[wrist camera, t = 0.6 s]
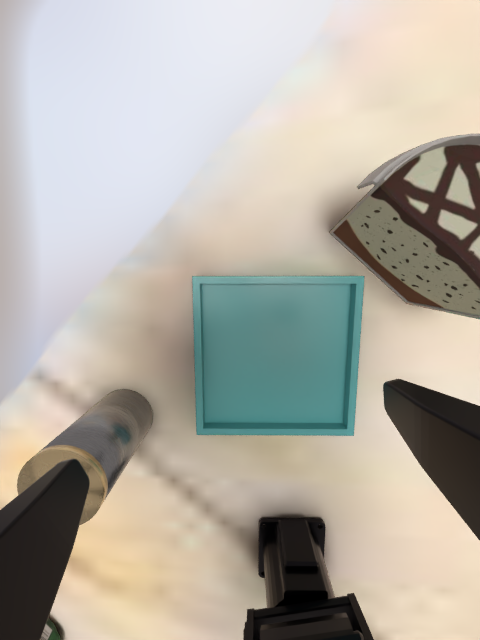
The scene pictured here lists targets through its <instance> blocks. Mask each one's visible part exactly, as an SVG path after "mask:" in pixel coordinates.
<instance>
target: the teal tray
mask: <svg viewBox="0 0 480 640" xmlns="http://www.w3.org/2000/svg"><path fill="white" fill-rule="evenodd" d="M192 282H193V320H194V357H195V394H196V431H197V435H336V436H354V423H355V409H356V394H357V379H358V364H359V349H360V334H361V320H362V305H363V290H364V276H192Z"/></svg>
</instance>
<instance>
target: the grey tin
mask: <svg viewBox="0 0 480 640" xmlns="http://www.w3.org/2000/svg"><path fill="white" fill-rule="evenodd" d="M152 421H153V412H152V409H151V406H150V404H149V403H148V401H147V400H146V399H145V398H144V397H143V396H142V395H140V394H139V393H137V392H135V391H132V390H126V389H122V390H116V391H113V392H111V393H109V394H108V395H107V396H105V397H104V398H103V399H102V400H101V401H99V402H98V403H97V404H96V405H95V406H93V407H92V408H91V409H90V410H89V411H87V412H86V413H85V414H84V415H83V416H81V417H80V418H79V419H78V420H77V421H75V422H74V423H73V424H72V425H71V426H69V427H68V428H67V429H66V430H65V431H63V432H62V433H61V434H60V435H59V436H57V437H56V438H55V439H54V440H53V441H51V442H50V443H49V444H48V445H47V446H46V447H44V448H43V449H42V450H41V451H40V452H38V453H37V454H36V455H35V456H34V457H32V458H31V459H30V460H29V461H28V462H27V463H26V464H25V465H24V466H23V468H22V469H21V471H20V474H19V477H18V483H17V488H18V494H19V495H20V494H21V493H22V492H23V491H25V490H26V489H27V488H28V487H29V486H31V485H32V484H33V483H34V482H36V481H37V480H38V479H39V478H40V477H42V476H43V475H44V474H45V473H47V472H48V471H49V470H50V469H52V468H53V467H54V466H55V465H56V464H58V463H59V462H61V461H65V460H69V459H77V460H78V461H79V462H80V464H81V465H82V467H83V469H84V470H85V472H86V474H87V475H88V477H89V480H90V486H89V490H88V494H87V498H86V502H85V505H84V509H83V513H82V516H81V520H80V524H79V525H81V524H83V523H85V522H87V521H88V520H90V519H91V518H92V517H93V516H94V515H95V514H96V513H97V511H98V510H99V508H100V506H101V505H102V503H103V502H104V500H105V498H106V497H107V495H108V494H109V492H110V491H111V489H112V487H113V486H114V484H115V483H116V481H117V480H118V478H119V476H120V475H121V473H122V472H123V470H124V468H125V467H126V465H127V464H128V462H129V461H130V459H131V457H132V456H133V454H134V453H135V451H136V449H137V448H138V446H139V445H140V443H141V442H142V440H143V438H144V437H145V435H146V434H147V432H148V430H149V429H150V427H151V425H152Z"/></svg>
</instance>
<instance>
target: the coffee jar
mask: <svg viewBox="0 0 480 640" xmlns="http://www.w3.org/2000/svg"><path fill="white" fill-rule="evenodd" d="M40 640H61V639H60V636H59V634H58V632H57V630H56V627H55V625H54V623H53V622H52V621H51V620H50V619H49V618H48V620H47V622H46V625H45V628H44V631H43V634H42V636H41V639H40Z"/></svg>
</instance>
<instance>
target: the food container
mask: <svg viewBox="0 0 480 640" xmlns="http://www.w3.org/2000/svg"><path fill="white" fill-rule="evenodd" d="M371 184H374V185H375V186H374V187H373V188H372V189H371V190H370V191H369V192H368V193H367V194H366V195H365V196H364V197H363V198H362V199H361V200H360V201H359V202H358V203H357V204H356V205H355V206H354V207H353V208H352V210H351V211H350V212H349V213H348V214H347V215H346V216H345V217H344V218H343V219H342V220H341V221H340V222H339V223H338V224H337V225H336V226H335V227H334V228H333V229H332V230H331V231H330V232H329V233H330V234H331V235H332V236H333V237H334V238H335V239H336V240H338V241H339V242H340V243H341V244H342V245H343V246H344V247H345V248H346V249H347V250H349V251H350V252H351V253H352V254H353V255H354V256H355V257H356V258H357V259H358V260H359V261H361V262H362V263H363V264H364V265H365V266H366V267H367V268H368V269H369V270H370V271H371V272H373V273H374V274H375V275H376V276H377V277H378V278H379V279H380V280H381V281H382V282H384V283H385V284H386V285H387V286H388V287H389V288H390V289H391V290H392V291H393V292H394V293H396V294H397V295H398V296H399V297H400V298H401V299H402V300H403V301H404V302H405V303H406V304H411V305H416V306H420V307H425V308H430V309H434V310H439V311H444V312H448V313H453V314H458V315H462V316H467V317H471V318H476V319H480V134H467V135H457V136H451V137H446V138H440V139H437V140H435V141H432V142H429V143H426V144H423V145H420V146H418V147H416V148H413V149H411V150H409V151H407V152H404V153H402V154H400V155H398V156H396V157H394V158H393V159H391V160H389V161H387V162H385V163H384V164H382V165H381V166H380V167H378V168H377V169H376V170H374V171H373V172H372V173H370V174H369V175H368V176H367V177H366V178H365V179H364V180H363V181H362V182H361V183H360V184H359V185H358V186H357V188H358V189H360V188H363V187H366V186H368V185H371Z"/></svg>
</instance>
